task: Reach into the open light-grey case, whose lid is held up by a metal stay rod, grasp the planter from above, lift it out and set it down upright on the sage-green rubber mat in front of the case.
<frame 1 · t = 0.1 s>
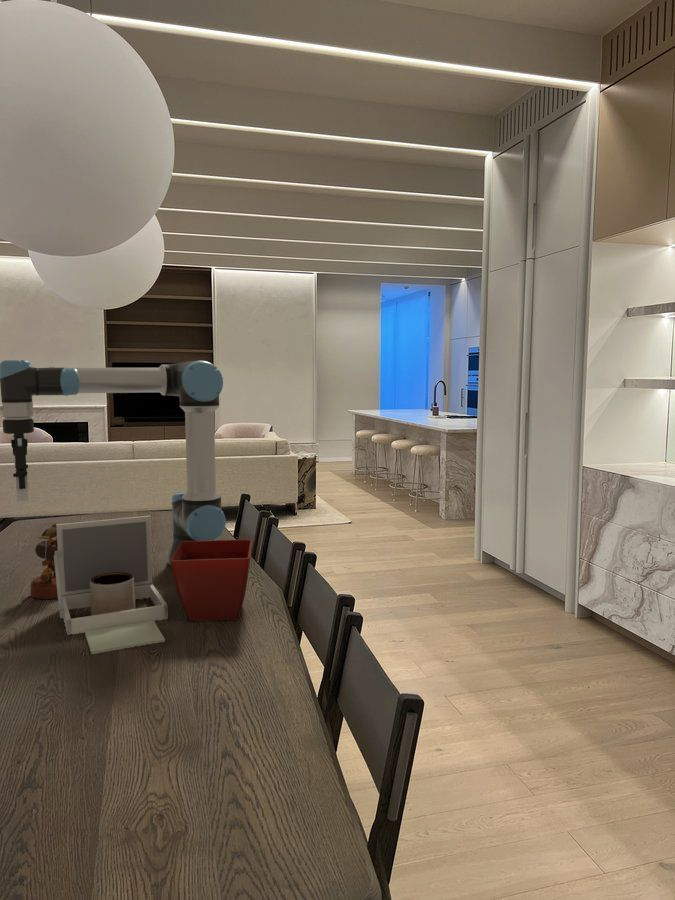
hand: (22, 496, 184), 28 cm above the table, tool pointing down, fingers open, 13 cm apart
planter: (113, 615, 174), resting in case
mat: (124, 637, 158), on the table
music box: (52, 593, 190), on the table
case: (113, 614, 174), on the table
plant pot: (214, 613, 175), on the table
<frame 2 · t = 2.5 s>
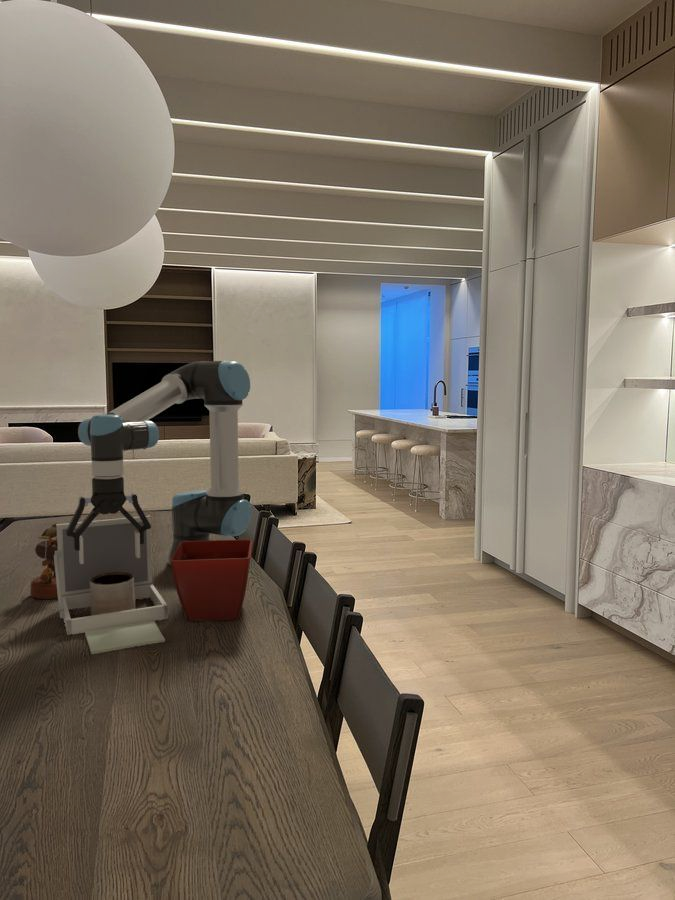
hand: (110, 559, 171), 14 cm above the table, tool pointing down, fingers open, 13 cm apart
nothing on the table moved.
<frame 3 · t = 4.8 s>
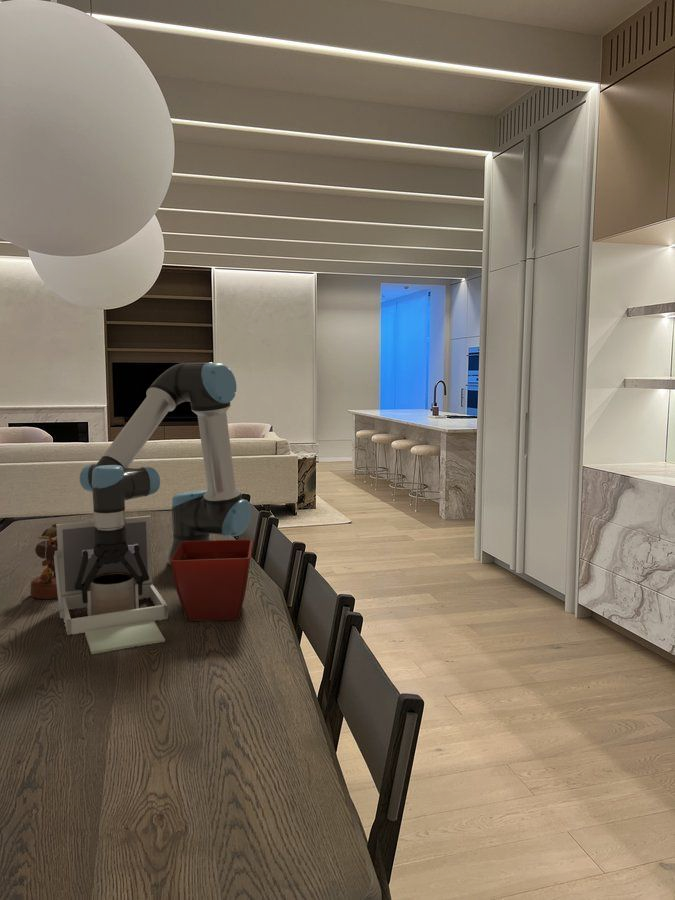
hand: (113, 611, 173), 1 cm above the table, tool pointing down, fingers closed on planter, 11 cm apart
planter: (113, 615, 174), resting in case, touching gripper
everything else where it was.
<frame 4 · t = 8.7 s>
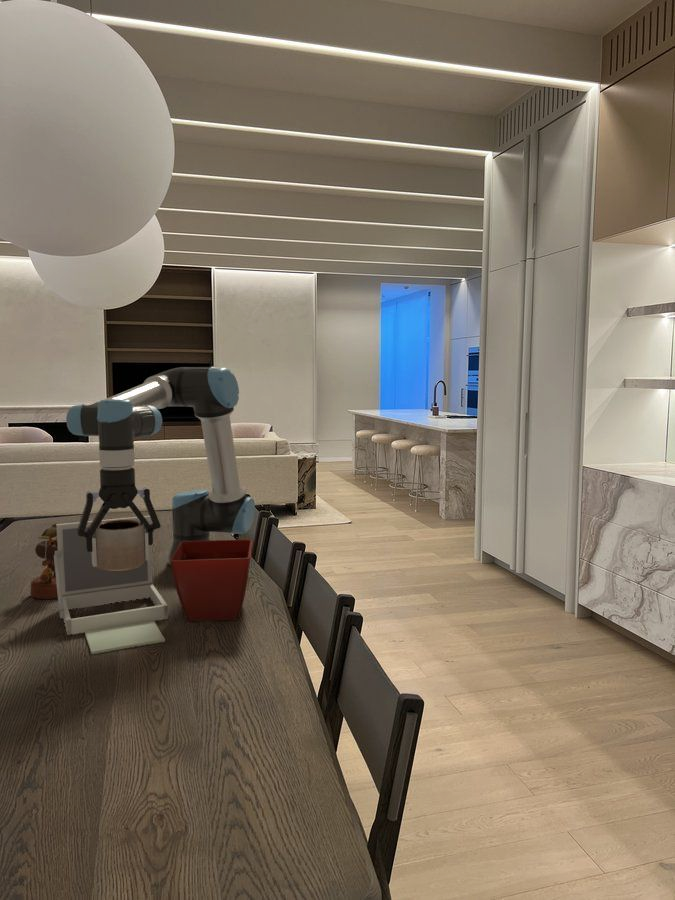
hand: (120, 562, 156), 18 cm above the table, tool pointing down, fingers closed on planter, 11 cm apart
planter: (120, 566, 156), point 17 cm above the table, touching gripper
everything else where it was.
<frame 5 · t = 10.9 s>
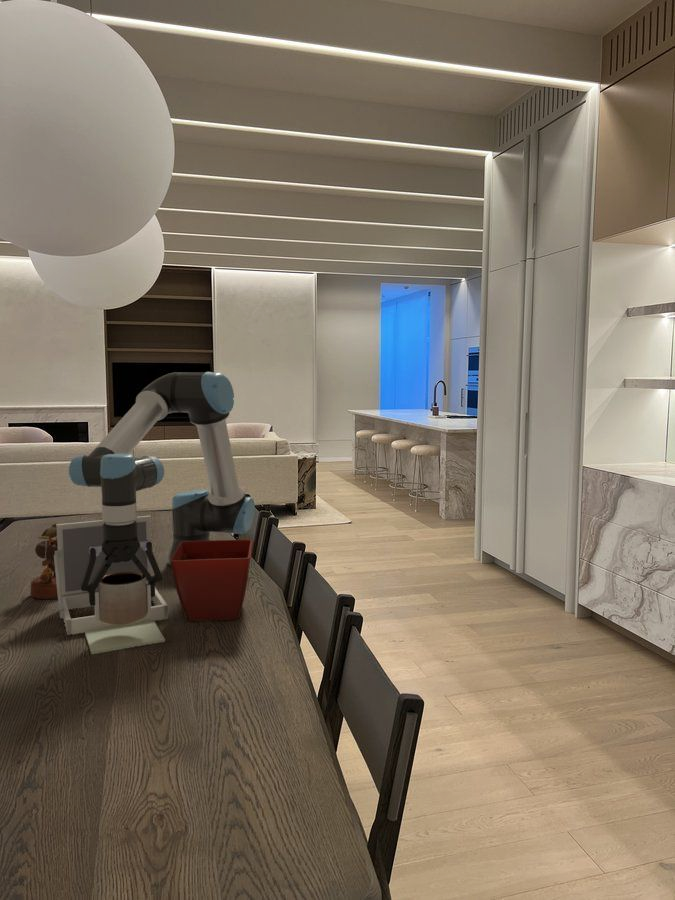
hand: (123, 614, 158), 6 cm above the table, tool pointing down, fingers closed on planter, 11 cm apart
planter: (123, 618, 158), point 5 cm above the table, touching gripper
everything else where it was.
when the fingers open (2 cm above the table, at t = 12.7 s): planter stays where it is, resting on mat.
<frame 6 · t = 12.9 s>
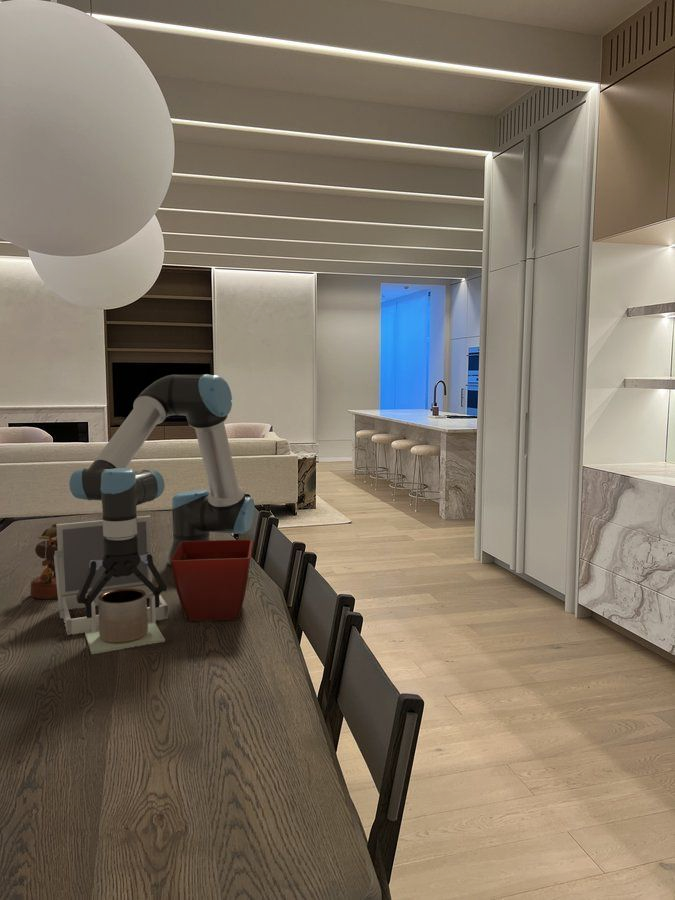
hand: (123, 625, 158), 3 cm above the table, tool pointing down, fingers open, 13 cm apart
planter: (124, 635, 158), resting on mat
everything else where it was.
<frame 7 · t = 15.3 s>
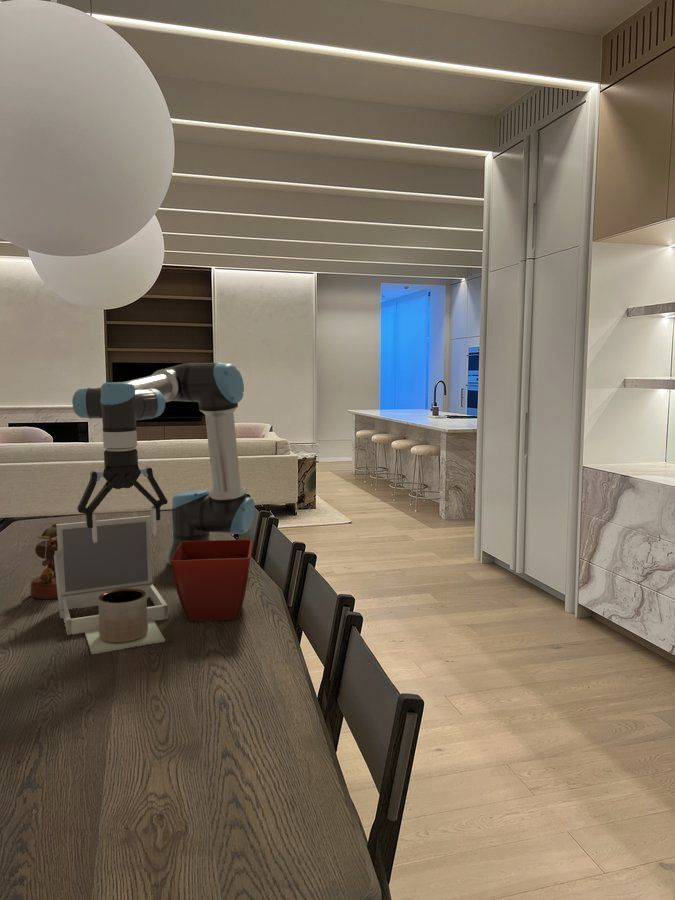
hand: (125, 537, 161), 23 cm above the table, tool pointing down, fingers open, 13 cm apart
nothing on the table moved.
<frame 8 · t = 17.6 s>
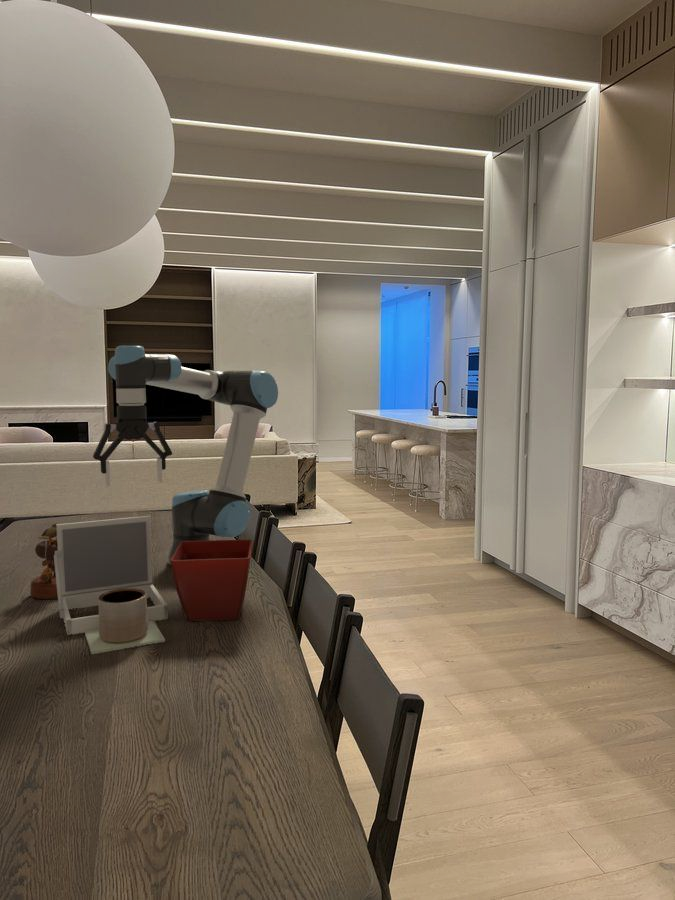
hand: (134, 483, 182), 32 cm above the table, tool pointing down, fingers open, 13 cm apart
nothing on the table moved.
at the end: planter inside the target area on the mat (0.1 cm from its centre), point 0.4 cm above the mat's base; planter tilted 0°; the gripper is holding nothing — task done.
